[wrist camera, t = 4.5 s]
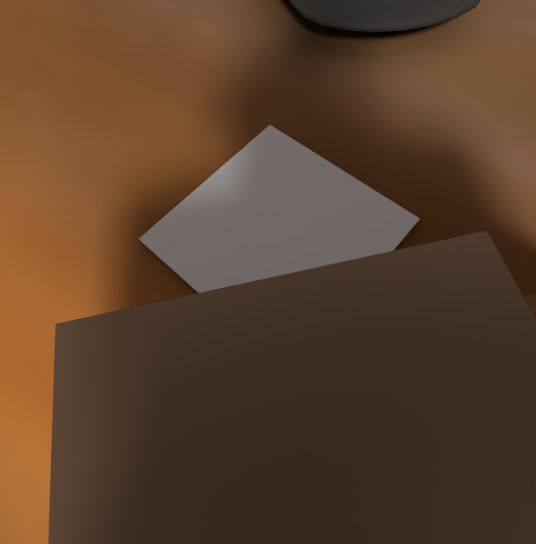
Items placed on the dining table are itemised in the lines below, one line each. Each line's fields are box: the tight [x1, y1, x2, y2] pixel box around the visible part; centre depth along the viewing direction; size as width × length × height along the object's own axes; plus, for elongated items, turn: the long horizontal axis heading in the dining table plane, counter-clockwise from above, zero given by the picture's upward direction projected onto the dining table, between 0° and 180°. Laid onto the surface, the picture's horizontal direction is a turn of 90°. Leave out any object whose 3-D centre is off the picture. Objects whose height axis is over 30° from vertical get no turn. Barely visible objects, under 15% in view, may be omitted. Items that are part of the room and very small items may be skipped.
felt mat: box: [139, 125, 420, 293], centre depth 18 cm, size 10×10×1 cm
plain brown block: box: [48, 230, 536, 544], centre depth 9 cm, size 4×4×12 cm
